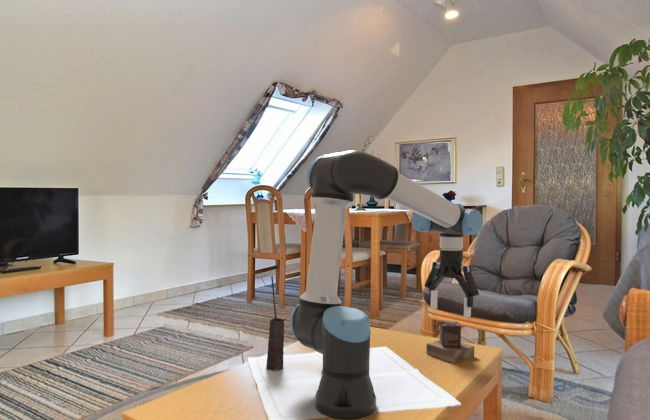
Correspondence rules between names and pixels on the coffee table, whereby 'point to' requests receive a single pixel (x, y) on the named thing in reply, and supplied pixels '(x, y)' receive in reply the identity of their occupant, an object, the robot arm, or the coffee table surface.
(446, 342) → the box
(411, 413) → the coffee table surface
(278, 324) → the butter churn
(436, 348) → the walnut block
